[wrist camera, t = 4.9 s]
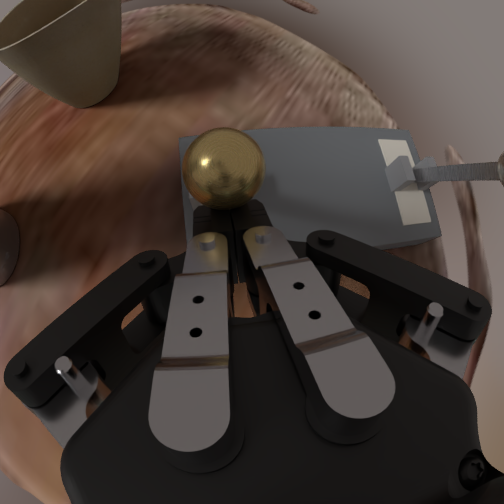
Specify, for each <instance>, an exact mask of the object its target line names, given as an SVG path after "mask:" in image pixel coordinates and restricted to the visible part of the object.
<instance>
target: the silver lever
mask: <svg viewBox="0 0 504 504" xmlns="http://www.w3.org/2000/svg"><path fill="white" fill-rule="evenodd" d="M412 170H413V173H414V176H415V179H416V180H415V181H414V182H413V183H419V182H434V181H472V180H500V182H501V183H502V185H503V186H504V152H503V153H502V154H501V155H500V157H499V160H498V162H488V163H473V164H460V165H449V166H439V167H428V168H419V169H412Z"/></svg>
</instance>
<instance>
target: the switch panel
mask: <svg viewBox="0 0 504 504" xmlns="http://www.w3.org/2000/svg"><path fill="white" fill-rule="evenodd" d="M242 132H244V133H246V134H248V135H249V136H250V137H252V138H253V139H254V140H255V141H256V142H257V144H258V145H259V147H260V148H261V150H262V152H263V155H264V159H265V165H266V172H265V178H264V181H263V184H262V186H261V188H260V190H259V191H258V193H257V194H256V195H255V196H254V197H253V198H252V199H257V200H258V201H260V202H261V203H263V205H264V207H265V210H266V212H267V215H268V216H269V218H270V221H271V223H272V225H273V227H274V228H277V229H279V230H280V231H281V232H282V233H283V235H284V237H285V238H286V239H287V240H291V241H299V242H306V238H307V236H308V235H309V234H310V233H311V232H313V231H317V230H330V231H334V232H337V233H340V234H342V235H345V236H347V237H350V238H353V239H355V240H358V241H360V242H363V243H365V244H368V245H370V246H373V247H375V248H377V249H380V250H386V249H392V248H398V247H405V246H411V245H417V244H421V243H424V242H427V241H429V240H432V239H435V238H437V237H440V236H442V234H441V230H440V226H439V222H438V218H437V214H436V210H435V206H434V203H433V199H432V196H431V192H430V189H429V188H430V187H431V186H433V185H434V184H436V183H437V182H439V181H434V182H419V183H413V182H414V181H415V180H416V179H415V176H414V173H413V170H412V169H419V168H428V167H437V165H436V163H435V160H434V158H433V157H425V158H424V159H423V160H422V161H420V159H419V156H418V153H417V150H416V148H415V145H414V142H413V140H412V137H411V135H410V132H409V130H399V129H385V128H365V127H290V128H269V129H254V130H242ZM198 136H199V135H196V136H189V137H182V138H179V152H180V168H181V183H182V196H183V208H184V219H185V230H186V240H187V244H188V242H189V240H190V239H191V238H192V237H193V211H194V210H195V209H196V208H197V207H198V206H200V205H203V204H201V203H199V202H198V201H197V200H196V199H194V198H193V196H192V195H191V194H190V193H189V191H188V190H187V188H186V186H185V183H184V180H183V176H182V162H183V158H184V155H185V152H186V150H187V149H188V147H189V145H190V144H191V143H192V142H193V141H194V140H195V139H196V138H197V137H198ZM252 199H251V200H252ZM236 267H237V266H236ZM237 272H238V271H237Z"/></svg>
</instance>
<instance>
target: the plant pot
mask: <svg viewBox="0 0 504 504" xmlns="http://www.w3.org/2000/svg"><path fill="white" fill-rule="evenodd" d="M120 55H121V0H22V1H21V2H20V3H18V4H17V5H16V6H15V7H14V8H13V9H12V10H11V11H10V12H9V13H8V14H7V15H6V16H5V17H4V18H3V19H2V20H1V21H0V61H1V62H2V63H3V64H5V65H6V66H7V67H8V68H9V69H11V70H12V71H13V72H14V73H16V74H17V75H18V76H20V77H21V78H22V79H24V80H25V81H27V82H28V83H30V84H31V85H33V86H34V87H36V88H38V89H39V90H41V91H43V92H44V93H46V94H48V95H50V96H52V97H54V98H56V99H58V100H60V101H62V102H64V103H66V104H68V105H71V106H73V107H76V108H85V107H89V106H92V105H94V104H96V103H98V102H100V101H101V100H103V99H104V98H105V97H107V96H108V95H109V94H110V93H111V92H112V90H113V89H114V88H115V86H116V84H117V81H118V76H119V67H120Z"/></svg>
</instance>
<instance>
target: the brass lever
mask: <svg viewBox="0 0 504 504" xmlns="http://www.w3.org/2000/svg"><path fill="white" fill-rule="evenodd" d="M265 172H266V165H265V159H264V155H263V152H262V150H261V148H260V147H259V145H258V144H257V142H256V141H255V140H254V139H253V138H252V137H250V136H249V135H248V134H246V133H244V132H242V131H240V130H237V129H234V128H227V127H222V128H215V129H211V130H208V131H206V132H204V133H202V134H201V135H199V136H198V137H197V138H196V139H195V140H194V141H193V142H192V143H191V144H190V145H189V147H188V149H187V150H186V152H185V155H184V158H183V162H182V176H183V180H184V183H185V186H186V188H187V190H188V191H189V193H190V194H191V195H192V196H193V198H194V199H196V200H197V201H198V202H199V203H201V204H203V205H205V206H207V207H209V208H212V209H217V210H229V209H234V208H237V207H240V206H242V205H244V204H246V203H247V202H249V201H250V200H251V199H252V198H253V197H254V196H255V195H256V194H257V193H258V191H259V190H260V188H261V186H262V184H263V181H264V178H265Z"/></svg>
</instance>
